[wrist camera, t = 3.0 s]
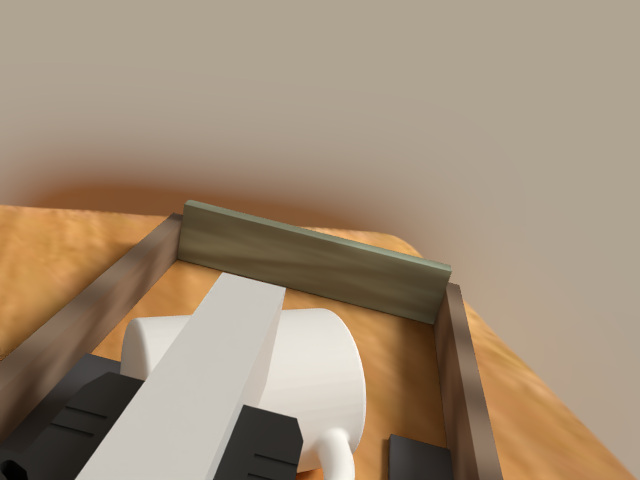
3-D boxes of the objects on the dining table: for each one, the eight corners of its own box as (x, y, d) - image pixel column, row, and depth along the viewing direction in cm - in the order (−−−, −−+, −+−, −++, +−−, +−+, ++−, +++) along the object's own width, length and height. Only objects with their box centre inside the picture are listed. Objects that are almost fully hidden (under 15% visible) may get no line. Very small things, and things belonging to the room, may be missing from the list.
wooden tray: (515, 757, 19) (571, 671, 17) (-147, 568, 20) (-165, 465, 18) (446, 321, 47) (464, 269, 45) (169, 249, 48) (175, 196, 46)
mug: (115, 415, 30) (126, 285, 26) (286, 393, 34) (313, 280, 31) (153, 647, 20) (178, 486, 17) (384, 573, 25) (437, 436, 21)
